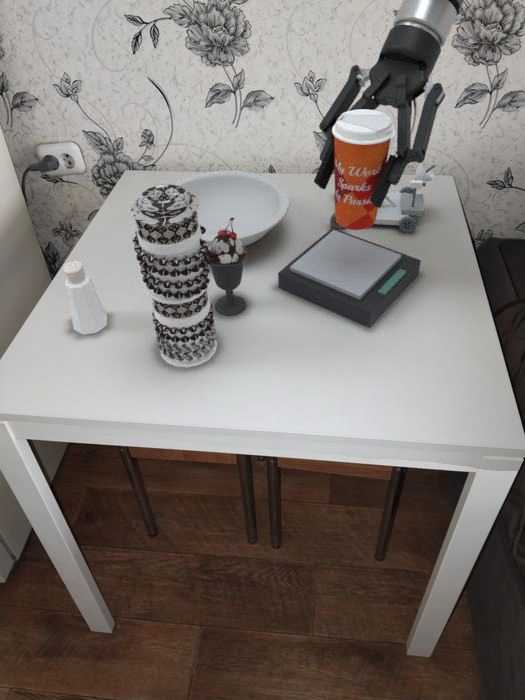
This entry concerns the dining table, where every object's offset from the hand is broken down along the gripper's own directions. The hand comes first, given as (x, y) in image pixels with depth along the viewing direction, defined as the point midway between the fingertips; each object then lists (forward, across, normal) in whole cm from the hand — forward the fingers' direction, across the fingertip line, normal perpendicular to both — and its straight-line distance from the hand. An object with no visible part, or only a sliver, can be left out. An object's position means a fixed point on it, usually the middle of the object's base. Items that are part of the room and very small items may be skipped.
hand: (346, 194), depth 82 cm
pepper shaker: (+33, +28, +7) cm, 43 cm away
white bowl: (+11, +26, -15) cm, 32 cm away
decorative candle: (+29, +12, +4) cm, 32 cm away
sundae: (+21, +12, -4) cm, 25 cm away
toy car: (-5, +6, -30) cm, 31 cm away
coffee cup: (+2, 0, -6) cm, 7 cm away
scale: (+10, 0, -15) cm, 18 cm away
